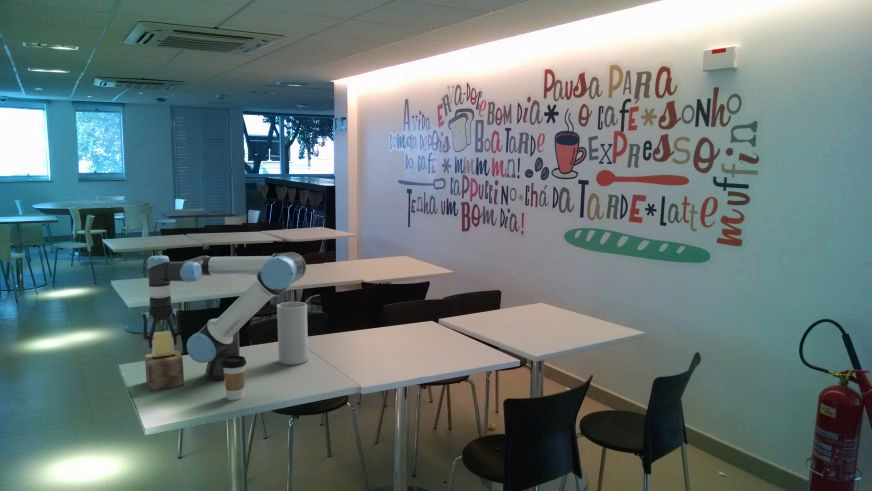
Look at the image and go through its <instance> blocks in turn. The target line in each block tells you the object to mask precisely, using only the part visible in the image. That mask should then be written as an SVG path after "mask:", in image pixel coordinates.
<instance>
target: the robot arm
mask: <svg viewBox="0 0 872 491" xmlns="http://www.w3.org/2000/svg"><path fill="white" fill-rule="evenodd" d="M146 268H147V275H148V294H149V295H148V296H149V310H148V311H147V312H142V313H141V317H142V338H143V340H147V341H148V348H149V349H151V351H152V352H151V354H152V355H153V357H155V342H154V338H153V335H154V333H155V330H156V327H157V325H158V322H159V321H166V323H167V326H168V328H169V331H171V340H172V354H174V351H175V346H176V345H177V343H178V341H177V340H178V339H177V338H178V336H181V335H182V330H181V329H182V328H181V321H180V314H181V310H180V308H173V306H172V297H171V294H172V292H171V291H172V290H171V282H182V283H184V282H185V283H190V282H191V283H192V282H197V281H199V280H200V279H201V277H206V276H207V277H208V276H209V277H210V276H211V277H213V276H256V280H255V281H254V282H253V283H252V284H251V285H250V286H249V287H248V288H247V289H246V290H245V291H244V292H243V293H242V294H241V295H240V296H239V297H238V298H236V300H235V301H234V302H233V303H232V304H230V306H229V307H228V308H227V309H226V310H225V311H224V312H223V313H222V314H220V316H218V317H217V318H211V319H208V321H207V323H206V324H204V325H203V327H202V328H200V330H199V331H198V332H195V333H194V334H192V335H191V336H190V337H189V338H188V339H187V342H186V351H187V354H188V356H189V357H190V358H191V359H192V360H193V361H195V362H197V363H199V364H200V363H201V364H205V363H207V366H206V368H205V377H206V379H208V380H212V381H225V380H224V373H223V371H224V369H223V367H222V360H223V358H224V357H226V356H241V354H240V329H241V328H242V327H243V326H244V325H245V324H247V322H248V321H250V319H251V318H253V317H254V316H255V314H257V313H258V312H259V311H260V310H261V309H262V308H264V306H265V305H266V304H267V303H268V302H269V301H270V300H271V299H272V298H274V297H280V296H281V295H282V294H283V293H284V292H285V291H286V290H287V289H288V288H290V286H291V285H292V284H295V283H296V282H297V281H299V280H301V279H302V278H303V277H304V276H305V273H306V271H307V264H306V260H305V259H304V257H303V256H302V255H301V254H299V253H296V252H293V251H290V252H289V251H288V252H280V253H279V252H278V253H273V254H272V255H265V256H264V255H261V256H260V255H259V256H258V255H256V256H255V255H254V256H252V255H251V256H247V255H246V256H245V255H244V256H243V255H242V256H208V255H201V256H197V257H194V258H191V259H188V260H184V261H170V258H169V256H167V255H152V256H149V257H148V258H147V267H146ZM171 314H173V315H174V318H175V319H174V320H175V326H176V331H175V329H174V328H175V327H174V326H173V324H172V322H171V319H170V316H171ZM149 315H150V317H152V318H153V319H152V322H151V326H150V328H149V329H150V330H149V333H148V319H149Z"/></svg>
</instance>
